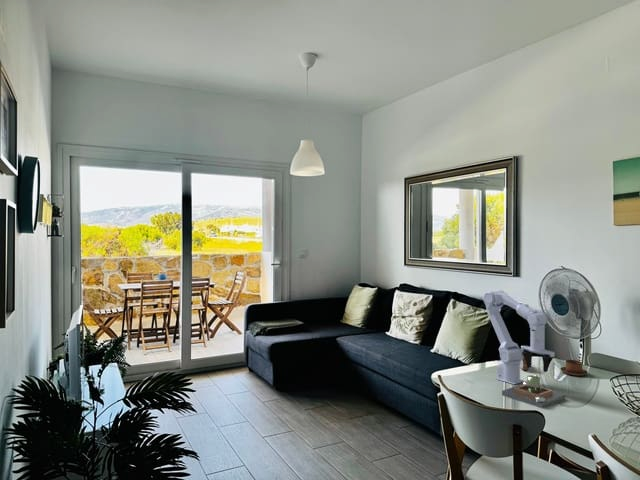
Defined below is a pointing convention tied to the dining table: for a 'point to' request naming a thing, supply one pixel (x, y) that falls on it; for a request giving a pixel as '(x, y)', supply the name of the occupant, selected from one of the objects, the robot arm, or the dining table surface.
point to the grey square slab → (533, 395)
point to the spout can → (533, 384)
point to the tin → (523, 364)
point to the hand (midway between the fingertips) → (537, 369)
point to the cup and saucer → (574, 368)
